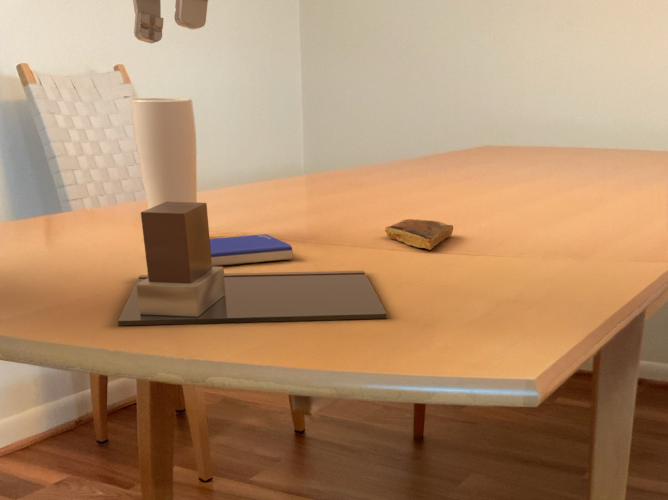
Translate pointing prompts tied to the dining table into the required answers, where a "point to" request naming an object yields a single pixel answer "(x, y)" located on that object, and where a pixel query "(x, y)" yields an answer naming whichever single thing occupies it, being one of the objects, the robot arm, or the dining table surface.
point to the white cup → (166, 148)
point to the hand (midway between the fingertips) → (167, 34)
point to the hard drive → (248, 250)
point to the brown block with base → (178, 262)
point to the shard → (419, 232)
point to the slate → (277, 299)
